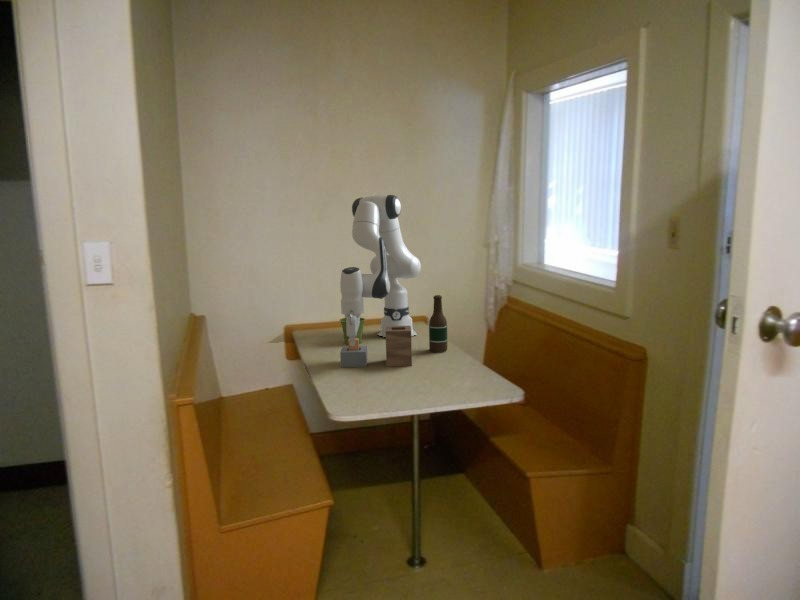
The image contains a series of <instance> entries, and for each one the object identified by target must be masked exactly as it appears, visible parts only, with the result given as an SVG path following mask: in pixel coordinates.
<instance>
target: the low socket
mask: <svg viewBox="0 0 800 600" xmlns="http://www.w3.org/2000/svg"><path fill="white" fill-rule="evenodd" d="M339 354H340V357H339V358H340V368H366V367H367V364H368V361H369V360H368V346H367V345H359V350H351V351H349V346H348V345H347V346H346V345H345V346H343V345H342V347H341V349H340V353H339Z"/></svg>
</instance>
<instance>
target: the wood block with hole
mask: <svg viewBox="0 0 800 600" xmlns="http://www.w3.org/2000/svg"><path fill="white" fill-rule="evenodd" d="M412 348H413V347H412V336H411V326H386V338H385V354H386V355H385V357H386V358H385V359H386V367H404V366H405V367H410V366H411V367H412V366H413V360H412V359H413V357H412V355H413V353H412Z"/></svg>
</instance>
